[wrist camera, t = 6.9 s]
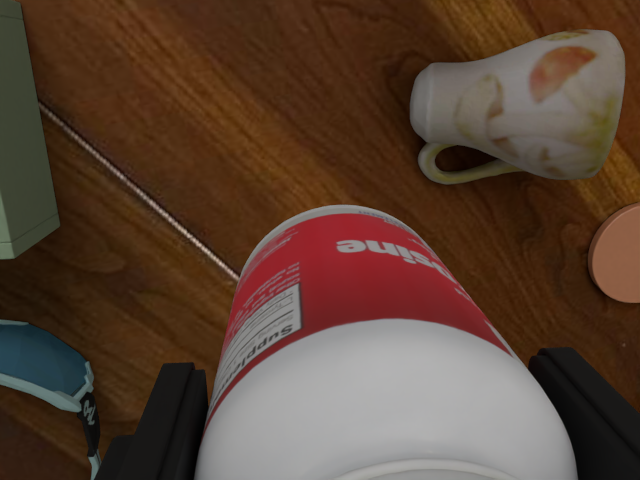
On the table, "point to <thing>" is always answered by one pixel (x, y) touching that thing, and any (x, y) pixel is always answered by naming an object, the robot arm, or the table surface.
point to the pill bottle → (369, 367)
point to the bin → (21, 145)
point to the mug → (525, 107)
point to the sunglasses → (50, 375)
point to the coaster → (617, 255)
